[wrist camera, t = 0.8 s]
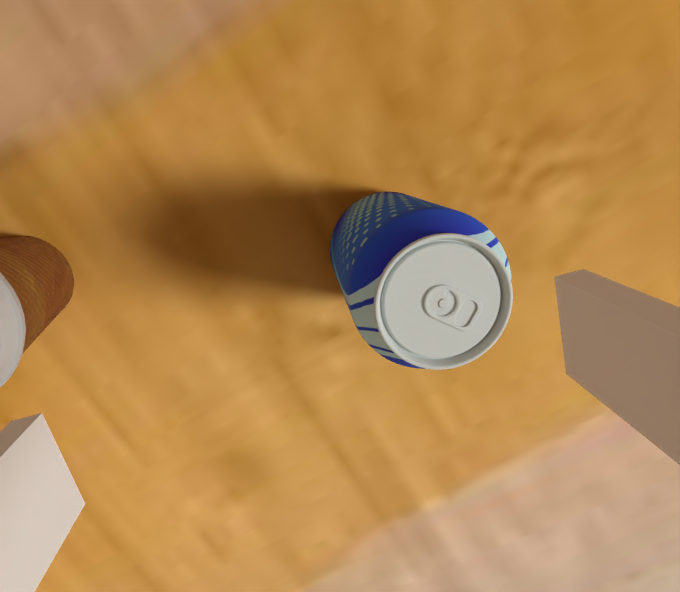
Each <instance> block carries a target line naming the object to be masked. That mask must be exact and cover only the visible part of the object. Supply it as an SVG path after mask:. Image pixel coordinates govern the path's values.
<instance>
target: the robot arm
mask: <svg viewBox="0 0 680 592" xmlns="http://www.w3.org/2000/svg"><path fill="white" fill-rule="evenodd" d="M555 285H556V293H557V302H558V310H559V318H560V327H561V335H562V343H563V352H564V360H565V368H566V374H567V375H569V376H570V377H571V378H572V379H573V380H575V381H576V382H577V383H578V384H580V385H581V386H582V387H583V388H585V389H586V390H587V391H588V392H590V393H591V394H592V395H593V396H595V397H596V398H597V399H598V400H600V401H601V402H602V403H603V404H605V405H606V406H607V407H608V408H610V409H611V410H612V411H613V412H615V413H616V414H617V415H618V416H620V417H621V418H622V419H623V420H625V421H626V422H627V423H628V424H630V425H631V426H632V427H633V428H635V429H636V430H637V431H638V432H640V433H641V434H642V435H643V436H645V437H646V438H647V439H648V440H650V441H651V442H652V443H653V444H655V445H656V446H657V447H658V448H660V449H661V450H662V451H663V452H665V453H666V454H667V455H668V456H669V457H671V458H672V459H673V460H674V461H676V462H677V463H678V464H679V465H680V308H679V307H677V306H674V305H672V304H669V303H667V302H664V301H662V300H659V299H657V298H654V297H652V296H649V295H647V294H644V293H642V292H639V291H637V290H634V289H632V288H629V287H627V286H625V285H622V284H620V283H617V282H615V281H612V280H610V279H607V278H605V277H602V276H600V275H597V274H595V273H592V272H590V271H587V270H585V269H582V270H578V271H575V272H571V273H567V274H563V275H560V276H556V277H555ZM84 505H85V502H84V500H83V498H82V496H81V494H80V492H79V490H78V488H77V486H76V484H75V481H74V479H73V477H72V475H71V473H70V471H69V469H68V467H67V465H66V463H65V460H64V458H63V456H62V454H61V452H60V450H59V448H58V446H57V444H56V442H55V439H54V437H53V435H52V433H51V431H50V429H49V427H48V425H47V423H46V421H45V418H44V416H43V414H42V413H40V414H36V415H33V416H29V417H25V418H21V419H18V420H14V421H11V422H10V423H9V424H8V425H7V426H6V427H5V428H4V429H3V430H2V431H1V432H0V592H35V590H36V588H37V587H38V585H39V583H40V581H41V580H42V578H43V576H44V574H45V573H46V571H47V569H48V568H49V566H50V564H51V562H52V561H53V559H54V557H55V555H56V554H57V552H58V550H59V548H60V547H61V545H62V543H63V542H64V540H65V538H66V536H67V535H68V533H69V531H70V529H71V528H72V526H73V524H74V522H75V521H76V519H77V517H78V516H79V514H80V512H81V510H82V509H83V507H84Z"/></svg>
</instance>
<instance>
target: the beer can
mask: <svg viewBox="0 0 680 592" xmlns="http://www.w3.org/2000/svg"><path fill="white" fill-rule="evenodd" d="M330 255H331V262H332V266H333V269H334V272H335V274H336V277H337V279H338V282H339V284H340V287H341V290H342V292H343V295H344V297H345V300H346V303H347V305H348V308H349V310H350V313H351V315H352V318H353V320H354V323H355V325H356V327H357V329H358V331H359V333H360V334H361V336H362V337H363V338H364V340H365V341H366V342H367V343H368V344H369V345H370V346H371V347H372V348H373V349H374V350H375V351H376V352H377V353H379V354H380V355H381V356H383V357H385V358H386V359H388V360H390V361H392V362H395V363H397V364H400V365H403V366H407V367H413V368H422V369H435V370H440V369H450V368H455V367H459V366H462V365H464V364H467V363H469V362H471V361H473V360H475V359H477V358H478V357H480V356H481V355H482V354H484V353H485V352H486V351H487V350H488V349H490V348H491V347H492V346H493V344H494V343H495V342H496V341H497V340H498V338H499V337H500V335H501V334H502V332H503V331H504V329H505V327H506V325H507V322H508V320H509V317H510V313H511V309H512V301H513V292H512V284H511V271H510V266H509V262H508V259H507V256H506V254H505V251H504V249H503V247H502V246H501V244H500V242H499V241H498V239H497V238H496V236H495V235H494V234H493V233H492V232H491V231H490V230H489V229H488V228H487V227H486V226H485V225H483V224H482V223H481V222H479V221H478V220H476V219H475V218H473V217H471V216H469V215H467V214H465V213H462V212H459V211H456V210H453V209H450V208H447V207H444V206H440V205H437V204H434V203H431V202H428V201H425V200H421V199H418V198H415V197H412V196H409V195H406V194H402V193H398V192H379V193H374V194H371V195H368V196H366V197H364V198H362V199H360V200H358V201H357V202H355V203H354V204H352V205H351V206H350V207H349V208H348V209H347V210H346V211H345V212H344V213H343V215H342V216H341V217H340V219H339V220H338V222H337V224H336V226H335V229H334V231H333V234H332V238H331V245H330Z"/></svg>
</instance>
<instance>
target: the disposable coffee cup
mask: <svg viewBox="0 0 680 592" xmlns="http://www.w3.org/2000/svg"><path fill="white" fill-rule="evenodd" d="M73 287H74V278H73V274H72V270H71V268H70V266H69V264H68V262H67V260H66V259H65V257H64V256H63V255H62V254H61V253H60V252H59V251H58V250H57V249H56V248H55V247H53V246H52V245H50V244H49V243H47V242H45V241H43V240H41V239H38V238H34V237H29V236H14V237H0V387H1V386H2V385H3V384H5V382H6V381H7V380H8V379H9V378H10V377H11V375H12V374H13V372H14V371H15V369H16V367H17V366H18V364H19V361H20V358H21V356H22V353H23V352H24V351H25V350H26V349H27V348H28V347H29V346H30V345H31V344H32V342H33V341H34V340H35V339H36V338H37V337H38V336H39V335H40V333H41V332H43V331H44V329H45V328H46V327H47V326H48V325H49V324H50V322H51V321H53V319H54V318H55V317H56V316H57V315H58V314H59V313H60V311H61V310H62V309H64V308H65V306H66V305H67V304H68V302H69V301H70V299H71V296H72V293H73Z"/></svg>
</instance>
